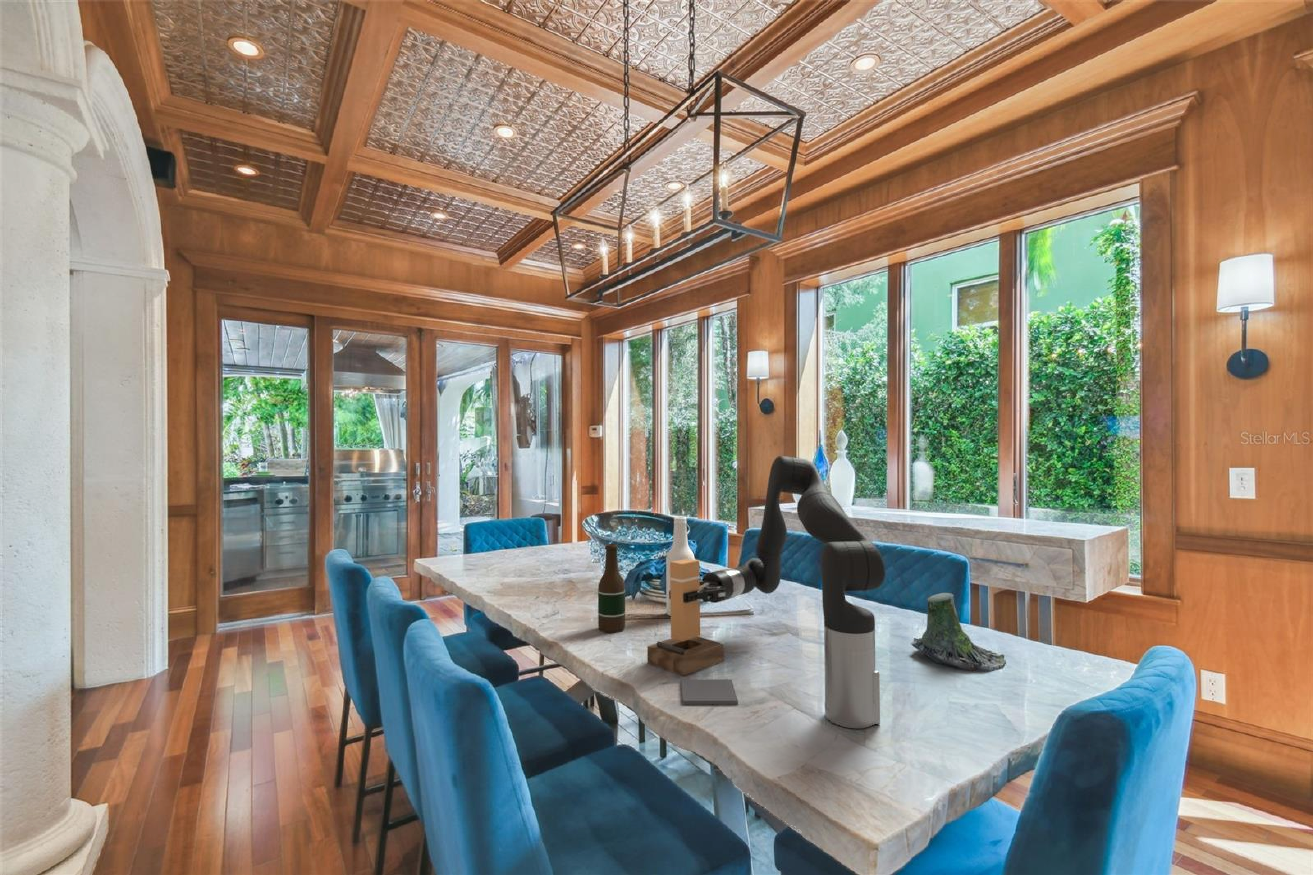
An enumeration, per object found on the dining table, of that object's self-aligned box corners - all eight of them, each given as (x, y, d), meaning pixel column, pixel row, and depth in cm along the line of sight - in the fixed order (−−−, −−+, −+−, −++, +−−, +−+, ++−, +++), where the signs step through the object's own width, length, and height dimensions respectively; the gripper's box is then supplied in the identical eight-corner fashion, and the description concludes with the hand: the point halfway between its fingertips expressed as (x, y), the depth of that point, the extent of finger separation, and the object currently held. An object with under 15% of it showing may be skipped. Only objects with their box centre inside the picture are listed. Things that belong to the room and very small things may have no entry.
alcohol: (661, 613, 185) (661, 516, 186) (686, 610, 189) (686, 515, 190) (674, 620, 177) (673, 519, 178) (700, 617, 181) (699, 518, 182)
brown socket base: (647, 663, 143) (647, 641, 143) (687, 648, 152) (687, 628, 153) (684, 676, 134) (684, 653, 134) (723, 660, 144) (723, 638, 144)
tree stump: (1023, 676, 134) (1003, 599, 134) (932, 693, 137) (912, 618, 137) (989, 645, 152) (971, 577, 152) (909, 661, 155) (892, 594, 155)
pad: (731, 683, 130) (731, 679, 130) (737, 704, 119) (737, 700, 119) (681, 683, 130) (681, 679, 130) (682, 704, 119) (682, 700, 119)
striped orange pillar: (670, 637, 142) (669, 561, 143) (688, 632, 147) (687, 558, 147) (683, 641, 140) (682, 564, 140) (700, 635, 144) (699, 560, 144)
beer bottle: (630, 627, 171) (630, 543, 171) (615, 635, 164) (615, 547, 165) (608, 623, 175) (608, 541, 175) (592, 630, 168) (592, 545, 169)
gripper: (702, 566, 159) (655, 576, 147) (745, 574, 148) (699, 585, 136) (702, 595, 158) (656, 607, 146) (745, 604, 148) (699, 618, 136)
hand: (677, 596), depth 141 cm, fingers closed on striped orange pillar, 4 cm apart
